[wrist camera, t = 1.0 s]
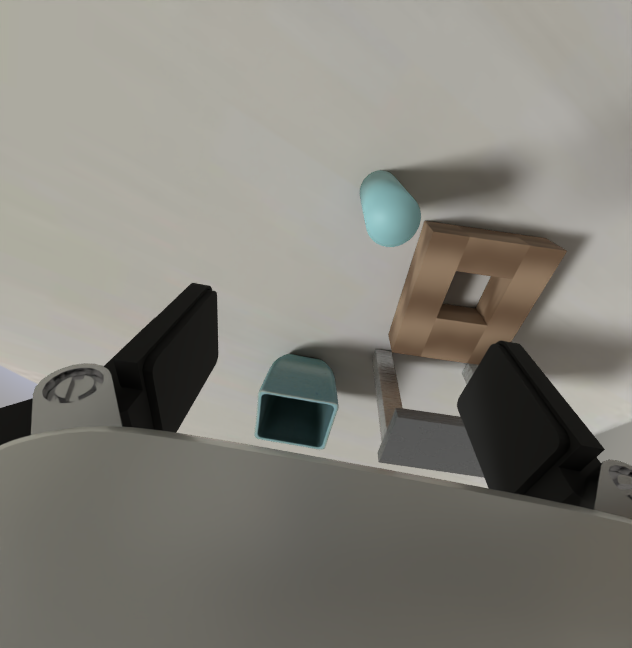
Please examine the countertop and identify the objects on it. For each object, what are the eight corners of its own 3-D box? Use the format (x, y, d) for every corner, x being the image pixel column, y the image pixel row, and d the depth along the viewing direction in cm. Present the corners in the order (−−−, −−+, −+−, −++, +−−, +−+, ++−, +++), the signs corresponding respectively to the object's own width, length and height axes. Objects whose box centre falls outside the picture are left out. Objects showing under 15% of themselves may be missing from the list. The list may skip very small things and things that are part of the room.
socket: (424, 220, 30) (433, 231, 27) (545, 238, 30) (567, 250, 27) (388, 334, 38) (392, 352, 35) (483, 348, 38) (495, 367, 35)
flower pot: (327, 396, 45) (324, 451, 37) (268, 386, 44) (253, 439, 37) (340, 351, 40) (339, 405, 32) (274, 339, 39) (258, 390, 32)
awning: (380, 319, 36) (397, 417, 24) (503, 337, 36) (581, 443, 24) (368, 359, 40) (378, 462, 28) (480, 376, 40) (538, 485, 28)
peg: (364, 167, 28) (372, 188, 19) (403, 173, 28) (428, 196, 19) (356, 208, 30) (361, 243, 21) (392, 213, 30) (411, 250, 21)
